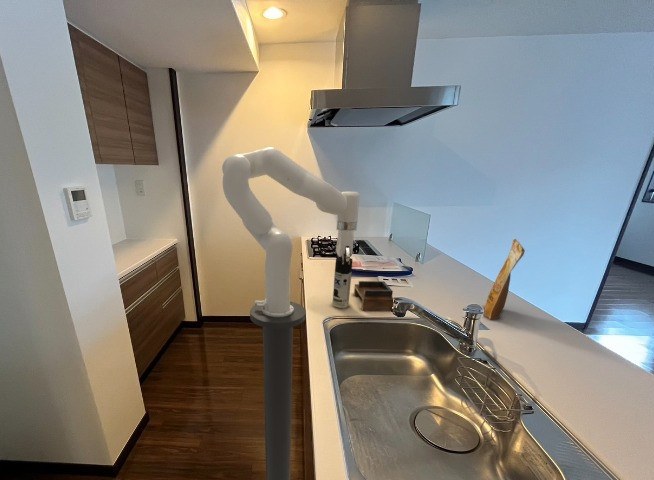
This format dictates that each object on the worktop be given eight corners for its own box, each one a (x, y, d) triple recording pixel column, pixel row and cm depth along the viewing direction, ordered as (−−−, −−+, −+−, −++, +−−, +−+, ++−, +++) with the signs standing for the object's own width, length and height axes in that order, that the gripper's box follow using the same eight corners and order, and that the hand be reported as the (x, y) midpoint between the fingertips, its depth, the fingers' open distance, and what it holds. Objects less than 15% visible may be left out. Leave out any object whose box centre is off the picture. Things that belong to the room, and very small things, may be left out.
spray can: (329, 304, 134) (332, 258, 127) (341, 301, 137) (345, 256, 129) (339, 309, 129) (342, 261, 121) (352, 306, 132) (356, 259, 124)
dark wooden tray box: (362, 310, 128) (364, 293, 125) (353, 294, 145) (355, 279, 142) (392, 310, 127) (395, 293, 125) (380, 294, 144) (382, 279, 141)
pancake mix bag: (505, 306, 130) (524, 238, 120) (503, 323, 116) (526, 247, 105) (485, 303, 134) (503, 236, 123) (482, 319, 119) (501, 245, 109)
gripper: (333, 222, 129) (331, 265, 135) (340, 229, 113) (336, 277, 119) (352, 222, 128) (348, 265, 135) (361, 229, 112) (357, 277, 119)
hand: (343, 270), depth 127 cm, fingers closed on spray can, 6 cm apart
